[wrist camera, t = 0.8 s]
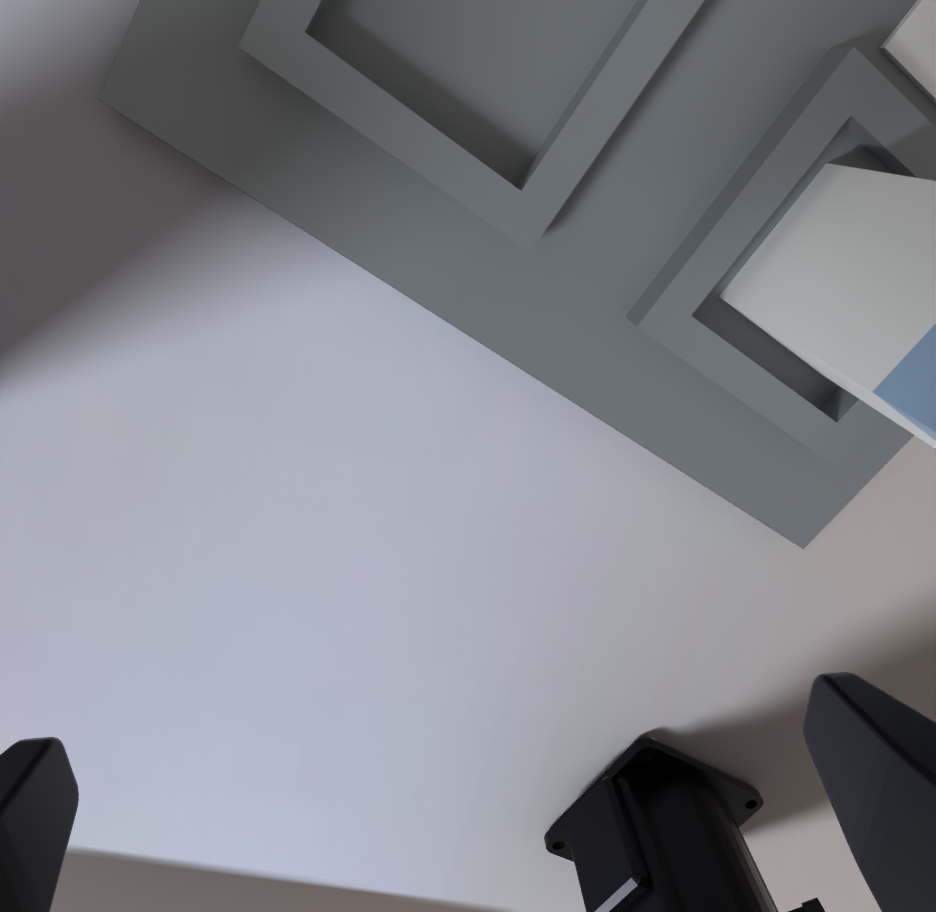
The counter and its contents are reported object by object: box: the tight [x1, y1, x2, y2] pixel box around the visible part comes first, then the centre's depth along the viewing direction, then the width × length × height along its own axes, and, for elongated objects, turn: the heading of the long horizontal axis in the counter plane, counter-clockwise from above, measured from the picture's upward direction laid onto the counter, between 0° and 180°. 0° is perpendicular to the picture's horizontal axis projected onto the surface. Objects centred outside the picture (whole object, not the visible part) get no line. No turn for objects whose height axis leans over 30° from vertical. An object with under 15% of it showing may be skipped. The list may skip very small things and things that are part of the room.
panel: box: [98, 0, 936, 549], centre depth 18 cm, size 23×13×2 cm, turn 56°
